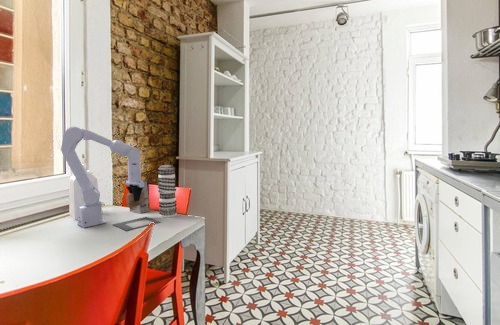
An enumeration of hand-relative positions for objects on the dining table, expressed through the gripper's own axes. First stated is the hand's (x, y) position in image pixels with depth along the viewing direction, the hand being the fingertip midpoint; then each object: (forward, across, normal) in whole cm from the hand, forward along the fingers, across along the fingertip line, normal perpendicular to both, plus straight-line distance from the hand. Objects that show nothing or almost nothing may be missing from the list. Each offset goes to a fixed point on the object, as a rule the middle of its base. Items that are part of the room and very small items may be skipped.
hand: (135, 200), depth 141 cm
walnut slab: (+2, 0, 0) cm, 2 cm away
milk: (+9, +26, +14) cm, 31 cm away
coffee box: (+9, +12, -8) cm, 17 cm away
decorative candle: (+9, -7, -13) cm, 17 cm away
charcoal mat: (+9, -9, +4) cm, 13 cm away
